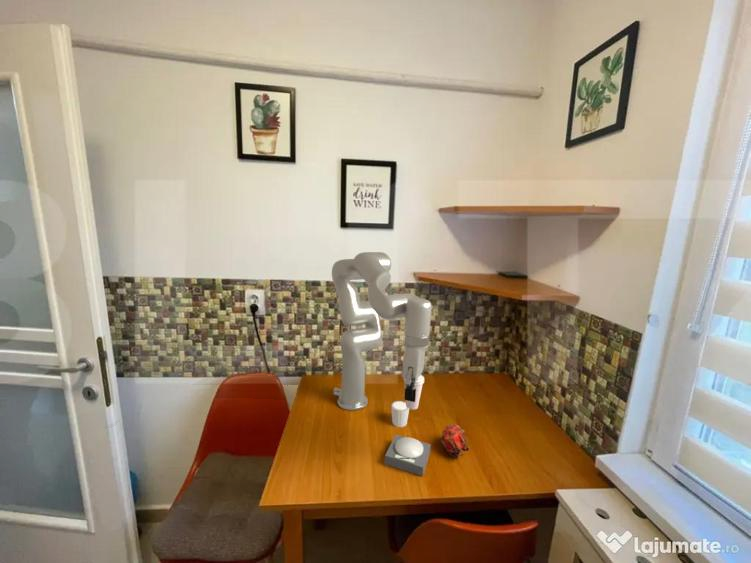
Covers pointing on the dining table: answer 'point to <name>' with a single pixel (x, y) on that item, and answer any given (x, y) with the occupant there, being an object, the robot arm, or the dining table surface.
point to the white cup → (399, 413)
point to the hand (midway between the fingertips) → (412, 394)
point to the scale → (408, 454)
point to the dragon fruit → (454, 440)
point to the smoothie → (418, 392)
